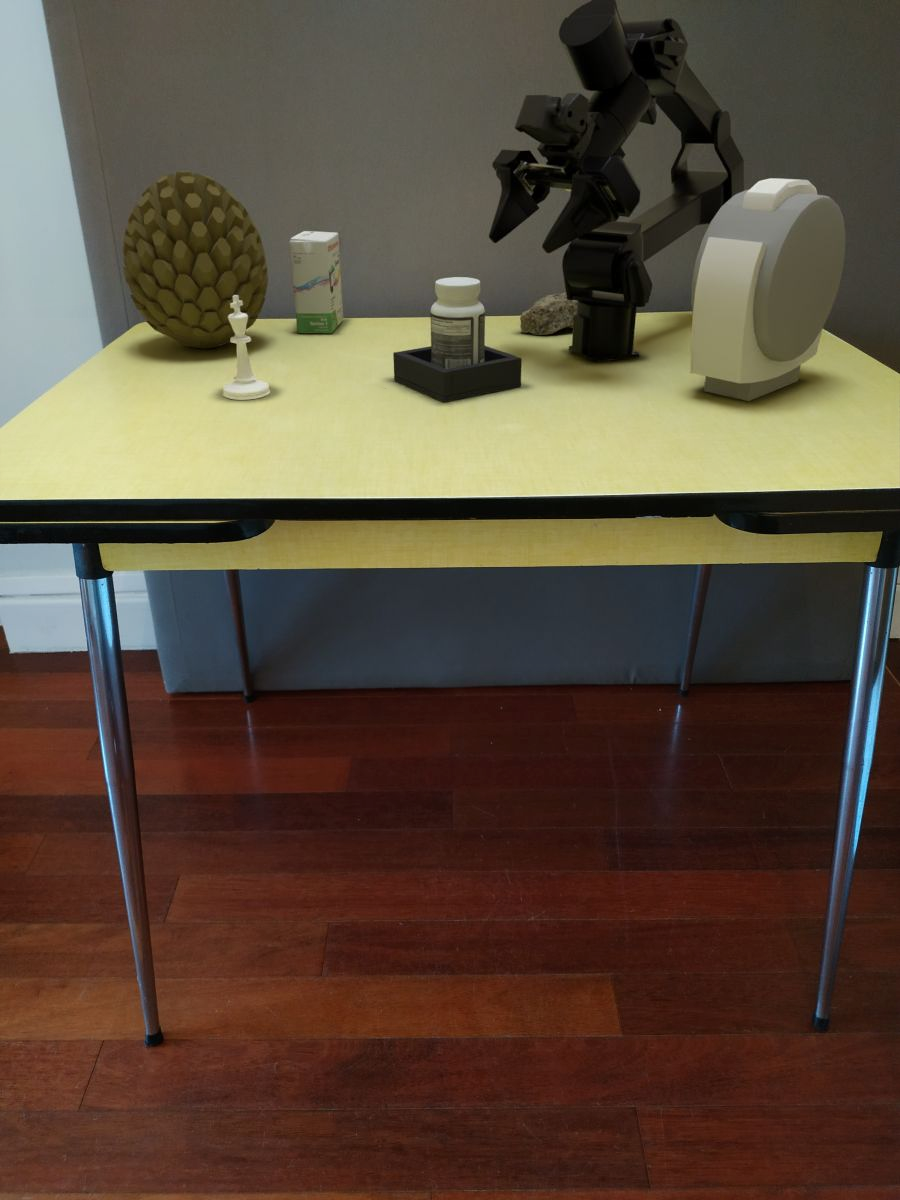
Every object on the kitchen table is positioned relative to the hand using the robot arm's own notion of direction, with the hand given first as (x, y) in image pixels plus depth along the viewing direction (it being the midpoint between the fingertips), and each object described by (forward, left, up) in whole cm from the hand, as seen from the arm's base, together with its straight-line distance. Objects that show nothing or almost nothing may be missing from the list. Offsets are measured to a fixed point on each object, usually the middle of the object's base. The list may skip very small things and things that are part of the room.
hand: (517, 245), depth 96 cm
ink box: (+15, -31, -14) cm, 37 cm away
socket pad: (+8, +2, -14) cm, 16 cm away
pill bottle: (+7, +2, -13) cm, 15 cm away
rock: (-13, -18, -14) cm, 27 cm away
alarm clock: (-21, +15, -14) cm, 29 cm away
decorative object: (+31, -26, -14) cm, 43 cm away
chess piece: (+30, -3, -14) cm, 33 cm away
